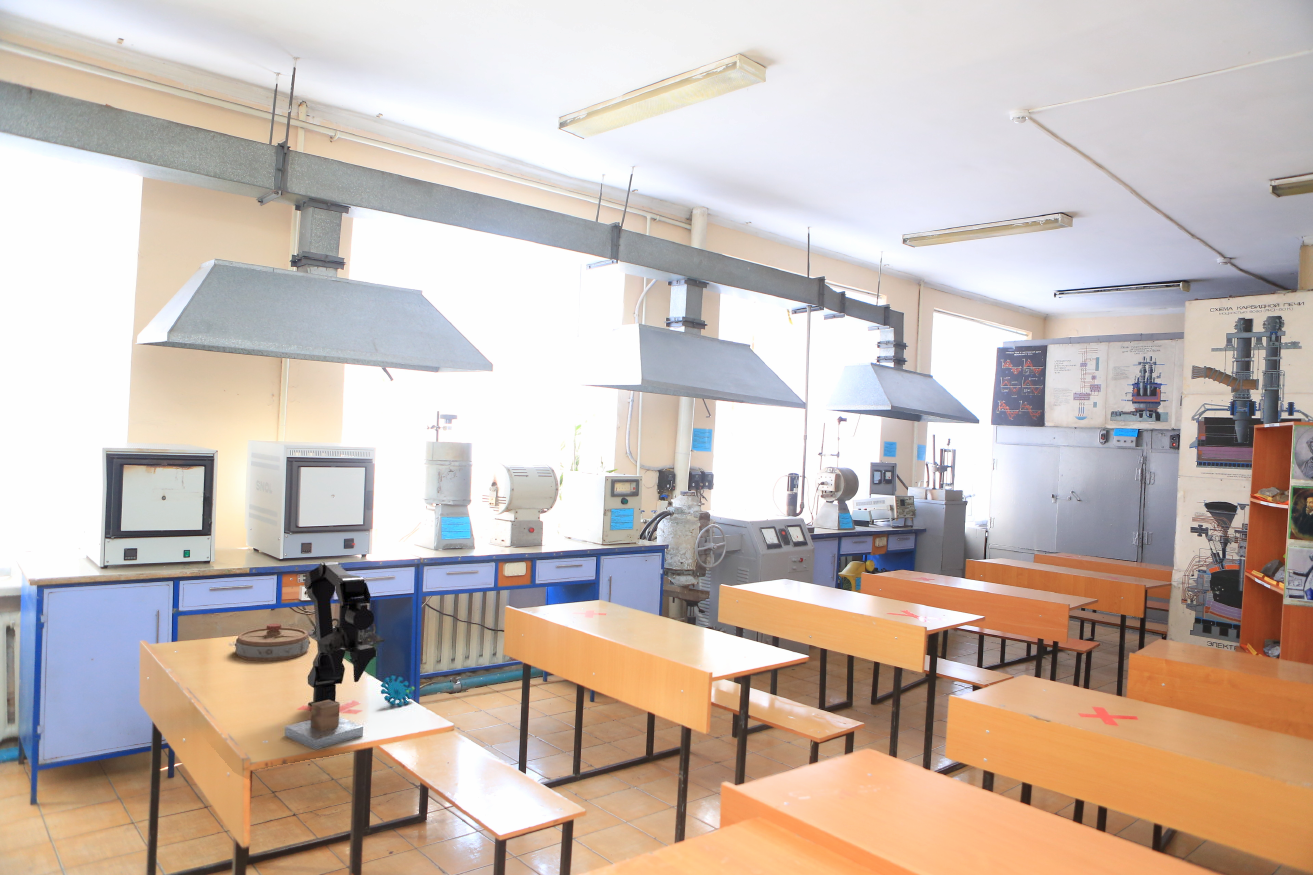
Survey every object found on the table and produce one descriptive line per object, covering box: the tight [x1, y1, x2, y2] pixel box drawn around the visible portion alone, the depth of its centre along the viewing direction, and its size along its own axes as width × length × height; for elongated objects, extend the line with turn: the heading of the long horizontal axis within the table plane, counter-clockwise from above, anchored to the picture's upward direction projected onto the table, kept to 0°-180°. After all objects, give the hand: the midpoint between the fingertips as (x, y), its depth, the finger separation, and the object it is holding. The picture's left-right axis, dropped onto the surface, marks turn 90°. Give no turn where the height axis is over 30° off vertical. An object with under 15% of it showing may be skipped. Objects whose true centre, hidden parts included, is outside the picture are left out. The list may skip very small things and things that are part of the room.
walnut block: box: [310, 700, 340, 731], centre depth 223 cm, size 5×5×6 cm
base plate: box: [284, 716, 364, 751], centre depth 223 cm, size 14×14×2 cm
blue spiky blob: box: [380, 675, 415, 707], centre depth 254 cm, size 11×6×10 cm
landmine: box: [234, 623, 311, 662], centre depth 301 cm, size 24×24×10 cm
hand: (346, 678), depth 235 cm, fingers open, 9 cm apart
